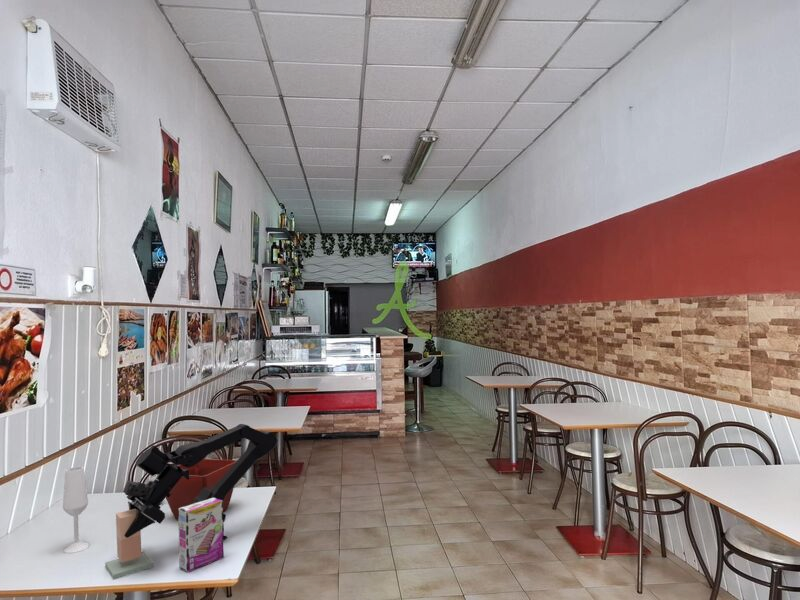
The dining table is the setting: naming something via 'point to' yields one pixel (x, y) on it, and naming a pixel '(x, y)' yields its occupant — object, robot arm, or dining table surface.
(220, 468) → the plant pot
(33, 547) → the dining table surface
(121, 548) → the peach rectangular block
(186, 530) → the candy bar box
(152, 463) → the robot arm
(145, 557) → the base plate
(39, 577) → the dining table surface
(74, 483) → the champagne flute
